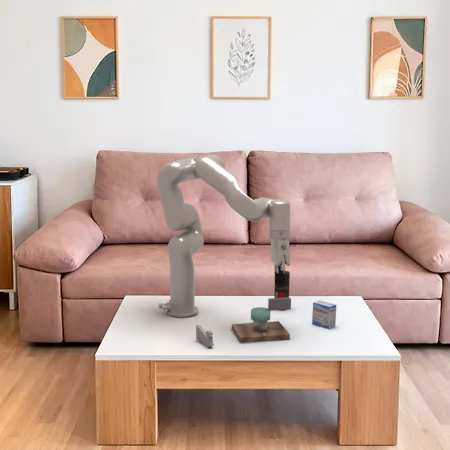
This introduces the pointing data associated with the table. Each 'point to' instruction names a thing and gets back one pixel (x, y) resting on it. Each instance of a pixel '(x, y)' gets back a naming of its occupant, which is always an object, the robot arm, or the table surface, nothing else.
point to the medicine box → (324, 314)
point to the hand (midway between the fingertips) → (279, 282)
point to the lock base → (260, 332)
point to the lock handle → (270, 308)
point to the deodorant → (282, 287)
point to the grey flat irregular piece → (204, 336)
